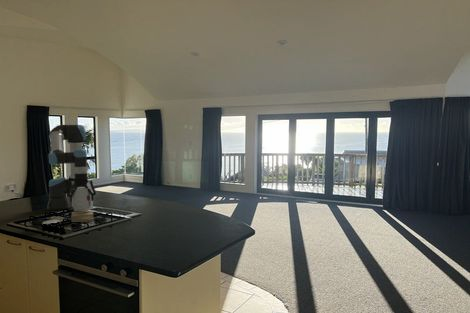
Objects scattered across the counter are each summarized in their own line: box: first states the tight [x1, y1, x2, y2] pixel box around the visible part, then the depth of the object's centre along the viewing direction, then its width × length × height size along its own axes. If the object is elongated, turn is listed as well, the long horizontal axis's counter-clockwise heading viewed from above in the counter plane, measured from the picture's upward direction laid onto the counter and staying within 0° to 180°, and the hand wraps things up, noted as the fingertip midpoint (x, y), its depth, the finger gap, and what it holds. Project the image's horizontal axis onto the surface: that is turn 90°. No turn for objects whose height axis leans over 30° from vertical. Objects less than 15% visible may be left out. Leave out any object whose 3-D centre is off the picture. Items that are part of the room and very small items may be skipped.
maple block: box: [70, 209, 94, 223], centre depth 224 cm, size 13×13×5 cm
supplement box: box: [72, 186, 94, 212], centre depth 226 cm, size 9×9×15 cm
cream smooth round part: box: [42, 219, 61, 225], centre depth 216 cm, size 10×10×1 cm
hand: (82, 206), depth 224 cm, fingers closed on supplement box, 10 cm apart
